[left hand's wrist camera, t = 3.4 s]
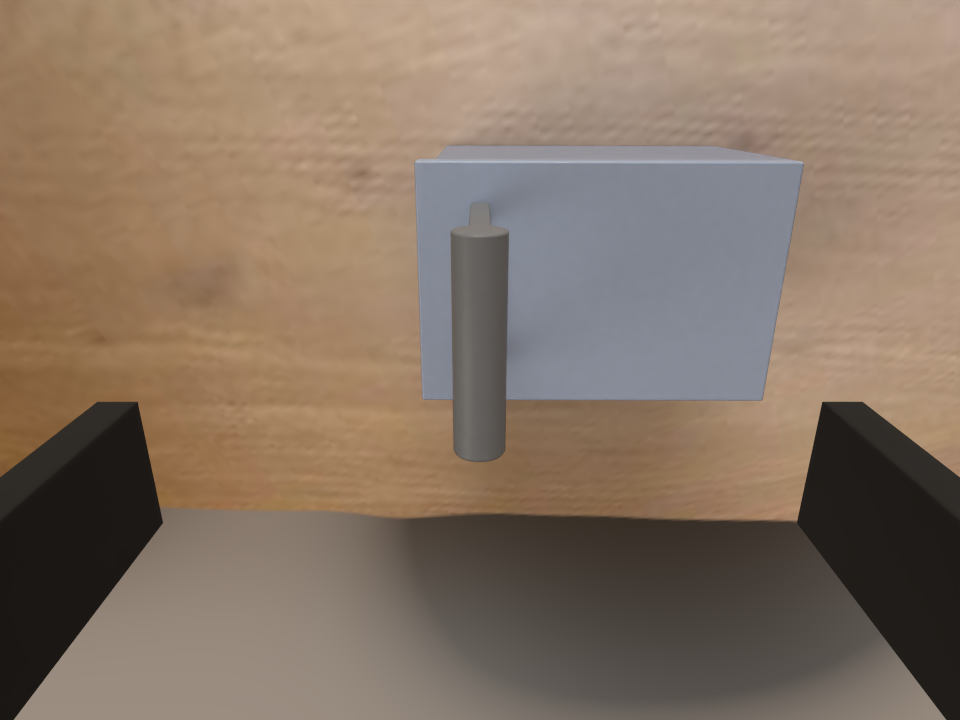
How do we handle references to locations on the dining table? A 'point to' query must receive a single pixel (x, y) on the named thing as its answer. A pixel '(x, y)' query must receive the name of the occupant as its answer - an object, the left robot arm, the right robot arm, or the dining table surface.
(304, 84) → the dining table surface
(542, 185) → the door
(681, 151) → the chest
